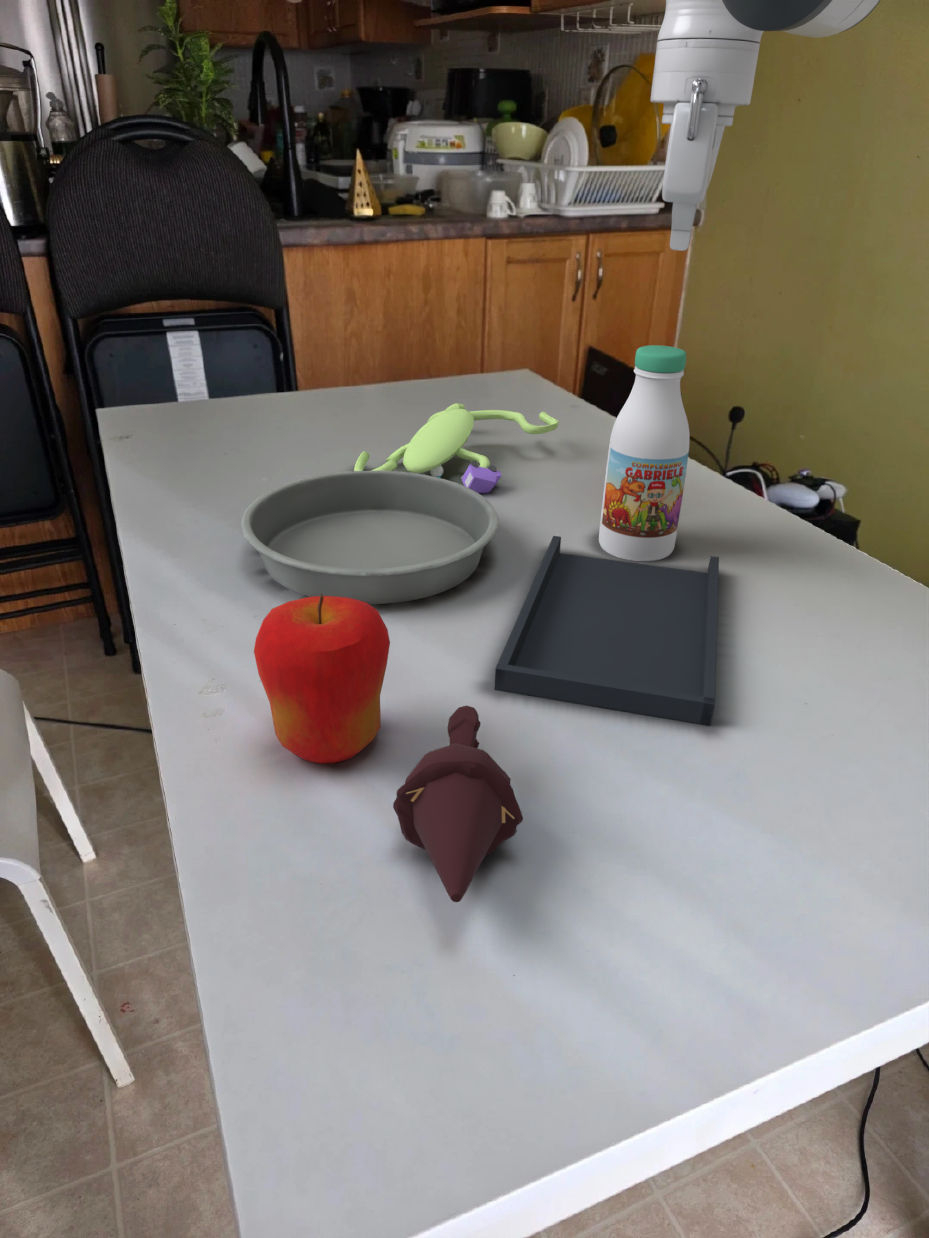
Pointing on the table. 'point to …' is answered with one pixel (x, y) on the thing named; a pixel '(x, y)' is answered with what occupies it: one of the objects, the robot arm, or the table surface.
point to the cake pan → (370, 534)
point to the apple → (323, 675)
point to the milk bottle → (647, 461)
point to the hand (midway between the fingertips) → (679, 249)
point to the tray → (616, 637)
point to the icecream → (458, 805)
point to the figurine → (454, 445)
